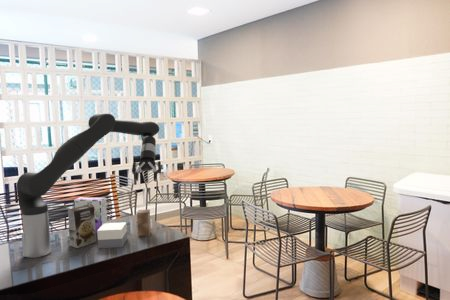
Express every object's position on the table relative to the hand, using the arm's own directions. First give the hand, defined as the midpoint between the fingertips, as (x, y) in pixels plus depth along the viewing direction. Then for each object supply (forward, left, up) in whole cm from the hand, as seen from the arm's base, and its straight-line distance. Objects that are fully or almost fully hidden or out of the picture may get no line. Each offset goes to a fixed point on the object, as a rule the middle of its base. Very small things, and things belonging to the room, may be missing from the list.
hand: (145, 179), depth 174 cm
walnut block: (0, -12, -24) cm, 26 cm away
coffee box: (-25, -21, -24) cm, 40 cm away
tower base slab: (-12, -22, -24) cm, 34 cm away
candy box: (-26, -5, -24) cm, 36 cm away
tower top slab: (-12, -22, -20) cm, 32 cm away
